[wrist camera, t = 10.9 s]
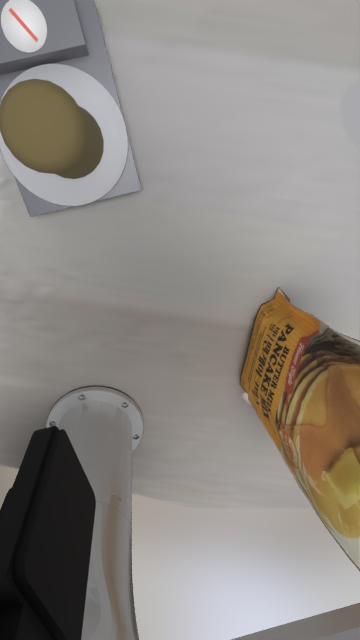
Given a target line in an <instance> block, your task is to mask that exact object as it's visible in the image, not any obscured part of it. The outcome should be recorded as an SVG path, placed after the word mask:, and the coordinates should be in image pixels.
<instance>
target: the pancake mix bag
mask: <svg viewBox="0 0 360 640" xmlns="http://www.w3.org/2000/svg"><path fill="white" fill-rule="evenodd" d="M240 385H241V387H242V388H243V389H244V390H245V391H246V393H247V394H248V400H249V401H250V402H251V404H252V405H253V407H254V408H255V410H256V412H257V414H258V416H259V418H260V420H261V422H262V423H263V425H264V427H265V429H266V430H267V432H268V434H269V436H270V437H271V439H272V440H273V442H274V443H275V445H276V447H277V448H278V450H279V452H280V454H281V456H282V457H283V459H284V461H285V463H286V465H287V466H288V468H289V470H290V471H291V473H292V475H293V477H294V478H295V480H296V482H297V484H298V485H299V487H300V489H301V490H302V492H303V493H304V494H305V496H306V497H307V499H308V500H309V502H310V503H311V505H312V507H313V508H314V510H315V512H316V513H317V515H318V516H319V518H320V519H321V521H322V522H323V524H324V525H325V527H326V528H327V529H328V531H329V532H330V533H331V535H332V536H333V537H334V539H335V540H336V542H337V543H338V544H339V545H340V547H341V548H342V550H343V551H344V552H345V554H346V555H347V556H348V557H349V559H350V560H351V561H352V562H353V563H354V565H355V566H356V567H357V568H358V570H359V571H360V341H359V340H356V339H353V338H351V337H348V336H346V335H343V334H341V333H338V332H336V331H334V330H333V329H331V328H330V327H329V326H327V325H326V324H324V323H323V322H322V321H320V320H319V319H318V318H316V317H315V316H313V315H312V314H309V313H306V312H303V311H302V310H300V309H298V308H296V307H295V306H293V305H292V304H291V303H290V300H289V298H288V297H287V296H286V295H285V294H284V292H283V291H282V290H281V289H280V288H278V290H277V292H276V295H275V297H274V299H272V300H270V301H268V302H266V303H264V304H262V305H261V308H260V310H259V312H258V314H257V316H256V320H255V324H254V328H253V332H252V336H251V340H250V344H249V348H248V352H247V357H246V360H245V363H244V367H243V371H242V375H241V382H240Z"/></svg>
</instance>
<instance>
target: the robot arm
mask: <svg viewBox="0 0 360 640" xmlns="http://www.w3.org/2000/svg"><path fill="white" fill-rule="evenodd" d="M142 434H143V417H142V414H141V411H140V409H139V408H138V406H137V405H136V403H135V402H134V401H133V400H132V399H131V398H129V397H128V396H127V395H125V394H124V393H121V392H119V391H117V390H114V389H110V388H107V387H86V388H81V389H77V390H75V391H72V392H70V393H68V394H66V395H65V396H63V397H62V398H61V399H60V400H59V401H57V402H56V403H55V405H54V406H53V408H52V409H51V411H50V414H49V416H48V419H47V422H46V428H44V429H40V430H37V431H35V432H34V433H33V435H32V437H31V440H30V443H29V445H28V448H27V450H26V453H25V456H24V458H23V461H22V464H21V466H20V469H19V471H18V475H17V477H16V479H15V482H14V484H13V487H12V488H11V489H9V491H8V493H7V495H6V497H5V499H4V502H3V505H2V507H1V510H0V640H139V635H138V629H137V623H136V616H135V607H134V597H133V583H132V452H133V451H134V449H135V448H136V447H137V446H138V444H139V442H140V440H141V438H142ZM232 640H360V603H357V604H354V605H350V606H347V607H344V608H340V609H336V610H333V611H329V612H326V613H322V614H319V615H315V616H312V617H308V618H305V619H301V620H298V621H294V622H291V623H287V624H284V625H280V626H277V627H273V628H270V629H266V630H263V631H259V632H256V633H253V634H249V635H246V636H242V637H239V638H235V639H232Z"/></svg>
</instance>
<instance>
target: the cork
mask: <svg viewBox="0 0 360 640" xmlns="http://www.w3.org/2000/svg"><path fill="white" fill-rule="evenodd" d="M0 132H1V135H2V138H3V140H4V143H5V145H6V146H7V147H8V149H9V150H10V152H11V153H12V154H13V156H14V157H15V158H16V159H17V160H19V161H20V162H21V163H22V164H23V165H25V166H26V167H28V168H30V169H32V170H35V171H37V172H40V173H50V174H56V175H58V176H61V177H63V178H69V179H78V178H82V177H85V176H87V175H88V174H90V173H92V172H93V171H94V170H95V169H96V167H97V166H98V165H99V163H100V161H101V158H102V155H103V151H104V140H103V136H102V132H101V129H100V127H99V125H98V123H97V122H96V120H95V118H94V117H93V116H92V115H91V114H90V113H89V112H88V111H87V110H86V109H84V108H82V107H80V106H78V105H77V103H76V101H75V100H74V98H73V97H72V96H71V95H70V94H69V93H67V92H66V91H65V90H64V89H63V88H62V87H60V86H58V85H56V84H54V83H52V82H50V81H47V80H41V79H30V80H25V81H21V82H18V83H17V84H15V85H14V86H13V87H11V88H10V89H8V91H7V92H6V94H5V96H4V97H3V99H2V100H1V104H0Z"/></svg>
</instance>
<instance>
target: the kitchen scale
mask: <svg viewBox="0 0 360 640" xmlns="http://www.w3.org/2000/svg"><path fill="white" fill-rule="evenodd" d="M30 79H41V80H47V81H50V82H52V83H54V84H56V85H58V86H60V87H62V88H63V89H64V90H65V91H66V92H67V93H69V94H70V95H71V96H72V97H73V98H74V100H75V101H76V103H77V105H78V106H80V107H82V108H84V109H86V110H87V111H88V112H89V113H90V114H91V115H92V116H93V117H94V118H95V120H96V122H97V123H98V125H99V127H100V129H101V132H102V136H103V140H104V151H103V155H102V158H101V161H100V163H99V165H98V166H97V167H96V169H95V170H94V171H93V172H92V173H90V174H88V175H87V176H85V177H82V178H78V179H69V178H63V177H61V176H58V175H56V174H50V173H40V172H37V171H35V170H32V169H30V168H28V167H26V166H25V165H23V164H22V163H21V162H20V161H19V160H17V159H16V158H15V157H14V156H13V154H12V153H11V152H10V150H9V149H8V147H7V146H6V145H5V143H4V140H3V138H2V135H1V132H0V149H1V152H2V155H3V157H4V159H5V161H6V163H7V165H8V167H9V168H10V170H11V172H12V173H13V174H14V176H15V179H16V182H17V184H18V187H19V189H20V192H21V194H22V197H23V200H24V202H25V205H26V207H27V210H28V213H29V215H30V217H32V216H36V215H40V214H45V213H49V212H53V211H57V210H61V209H65V208H70V207H74V206H78V205H84V204H87V203H91V202H94V201H99V200H103V199H107V198H111V197H115V196H119V195H123V194H128V193H132V192H136V191H140V190H141V187H140V183H139V179H138V175H137V171H136V167H135V163H134V159H133V155H132V151H131V147H130V143H129V139H128V135H127V131H126V126H125V123H124V119H123V115H122V111H121V107H120V103H119V99H118V95H117V91H116V87H115V82H114V78H113V74H112V70H111V66H110V62H109V58H108V54H107V50H106V46H105V42H104V38H103V34H102V30H101V26H100V22H99V18H98V14H97V10H96V6H95V2H94V0H0V104H1V100H2V99H3V97H4V96H5V94H6V92H7V91H8V89H10V88H11V87H13V86H14V85H15V84H17V83H18V82H21V81H25V80H30Z"/></svg>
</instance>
